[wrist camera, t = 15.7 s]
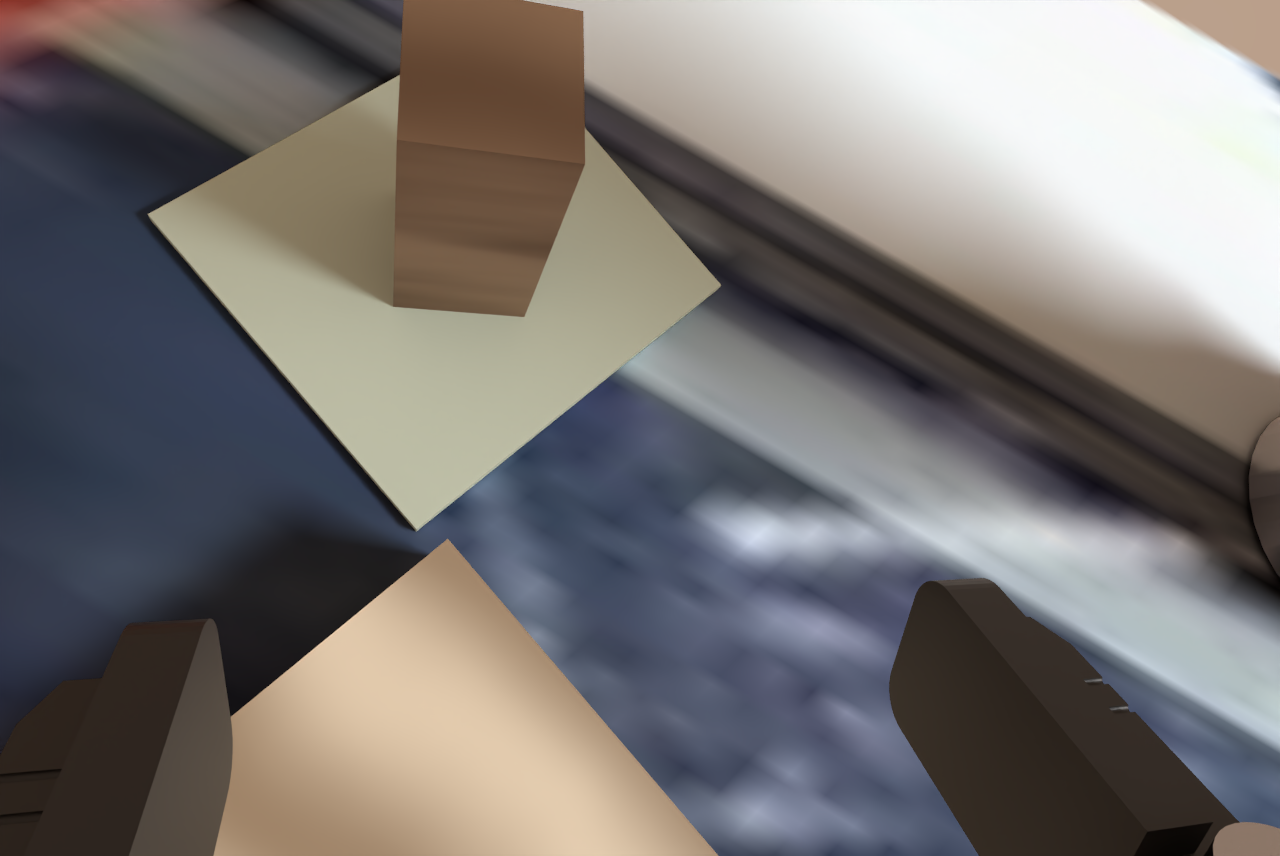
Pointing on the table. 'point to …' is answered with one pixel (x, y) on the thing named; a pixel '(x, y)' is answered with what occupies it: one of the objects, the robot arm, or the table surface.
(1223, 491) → the table surface
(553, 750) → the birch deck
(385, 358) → the sage mat
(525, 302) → the walnut block
